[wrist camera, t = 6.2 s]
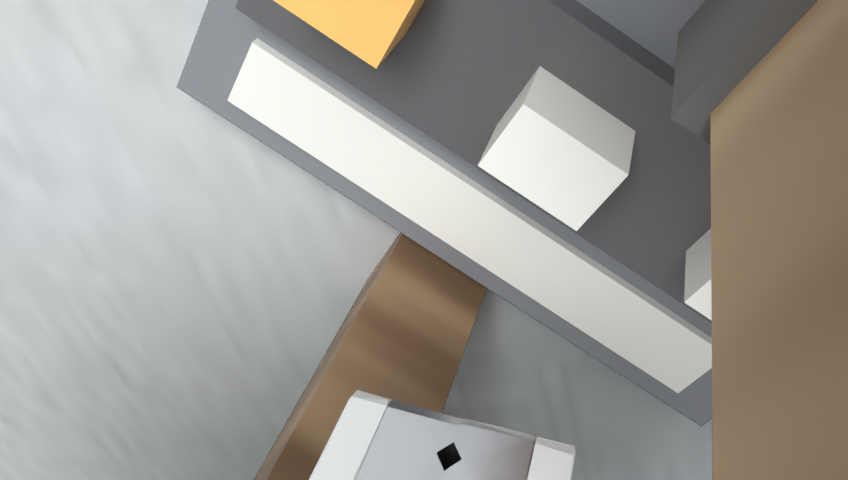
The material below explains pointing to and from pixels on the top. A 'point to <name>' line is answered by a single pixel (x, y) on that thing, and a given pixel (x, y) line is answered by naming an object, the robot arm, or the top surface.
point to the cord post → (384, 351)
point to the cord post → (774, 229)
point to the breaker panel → (500, 152)
